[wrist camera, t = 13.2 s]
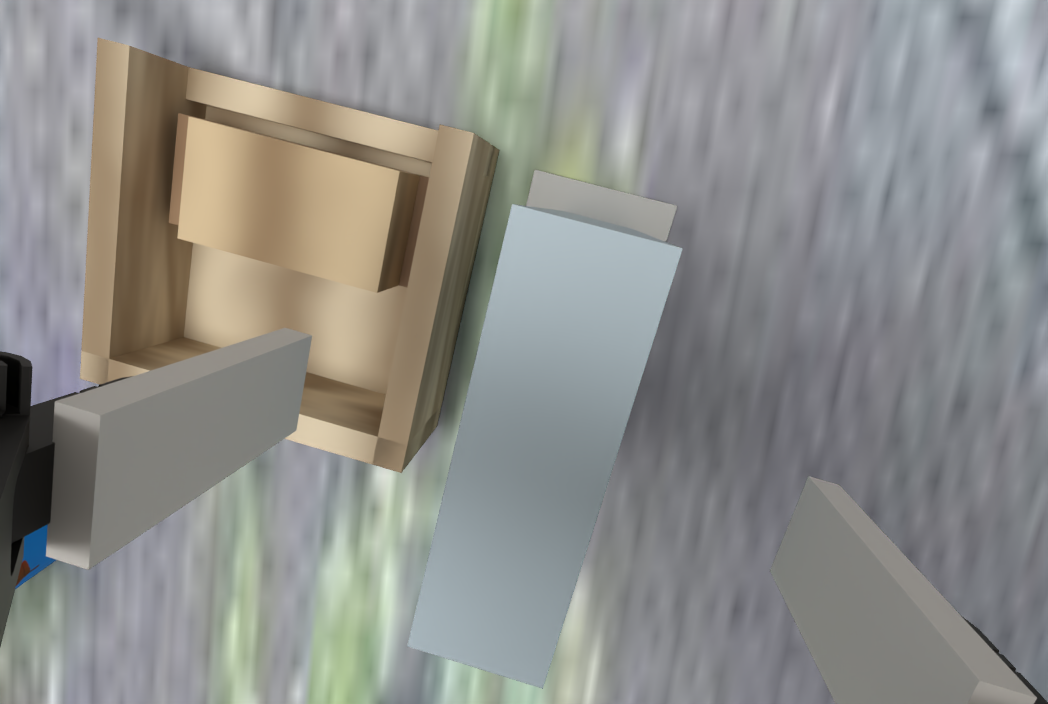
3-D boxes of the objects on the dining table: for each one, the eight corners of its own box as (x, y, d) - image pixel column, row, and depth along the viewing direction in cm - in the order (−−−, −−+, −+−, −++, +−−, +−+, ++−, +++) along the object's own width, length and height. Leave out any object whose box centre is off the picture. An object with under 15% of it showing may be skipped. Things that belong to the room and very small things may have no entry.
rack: (499, 150, 28) (474, 133, 22) (436, 426, 32) (401, 472, 26) (196, 72, 29) (97, 37, 23) (170, 350, 33) (79, 378, 27)
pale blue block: (572, 434, 31) (542, 689, 14) (508, 416, 31) (407, 646, 14) (632, 229, 28) (682, 248, 11) (562, 210, 28) (512, 204, 12)
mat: (675, 206, 28) (677, 206, 27) (596, 463, 31) (596, 467, 31) (536, 170, 28) (535, 169, 28) (473, 428, 32) (470, 432, 31)
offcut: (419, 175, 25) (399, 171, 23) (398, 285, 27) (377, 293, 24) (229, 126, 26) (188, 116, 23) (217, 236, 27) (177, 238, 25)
